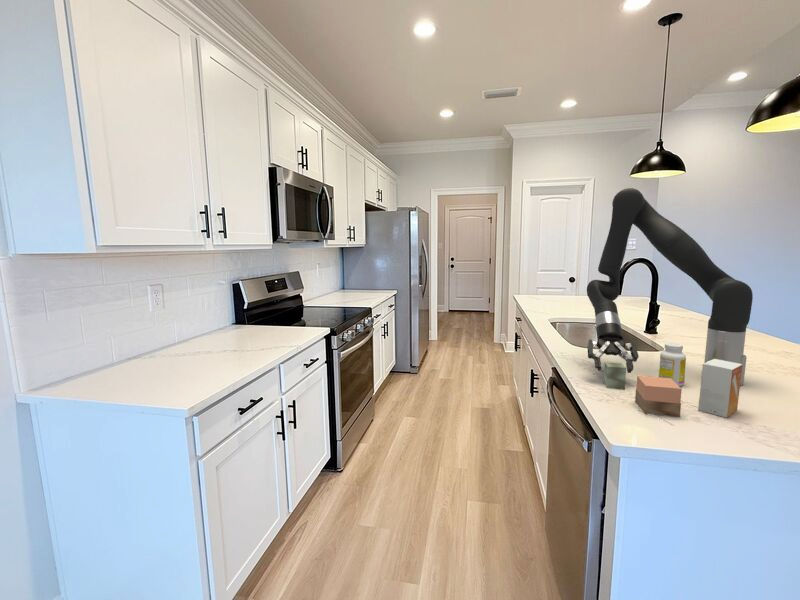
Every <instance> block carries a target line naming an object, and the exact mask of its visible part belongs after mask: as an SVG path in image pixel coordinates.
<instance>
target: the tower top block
mask: <svg viewBox="0 0 800 600" xmlns="http://www.w3.org/2000/svg"><path fill="white" fill-rule="evenodd" d="M636 389H637V391H638V392H639V394H640V395H641V396H642V398H643V399H644V400H648V401H658V402H668V403H678V404H680V403H682V402H681V401H682V400H681V399H682V390H683V389H682V388H681V386H678V385H677V384H676V383H675V382H674V381H673V380H672V379H671V378H660V377H659V376H658V377H657V376H646V375H645V376H643V375H636V388H635V390H636Z"/></svg>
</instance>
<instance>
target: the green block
mask: <svg viewBox="0 0 800 600" xmlns="http://www.w3.org/2000/svg"><path fill="white" fill-rule="evenodd" d="M626 374H627V366H625V365H624V364H623V363H622V362H611V361H610V362H609V361H604V365H603V380H602V381H603V382H602V383H603V384H604V386H605V388H607V389H613V390H614V389H616V390H626V376H627V375H626Z"/></svg>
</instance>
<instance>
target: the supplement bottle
mask: <svg viewBox="0 0 800 600" xmlns="http://www.w3.org/2000/svg"><path fill="white" fill-rule="evenodd" d="M664 349H665V350H663V351H660V355H659V370H658V377H660V378H671V379H672V380H673V381H674V382H675V383H676V384H677V385H678V386H679V387H682V386H683V385H684V384H685V377H686V376H685V374H686V363H687V362H686V361H687V356H686V354H685V353H684V352H683V349H684V346H683V344H680V343H676V342H675V343H674V342H665V343H664Z"/></svg>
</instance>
